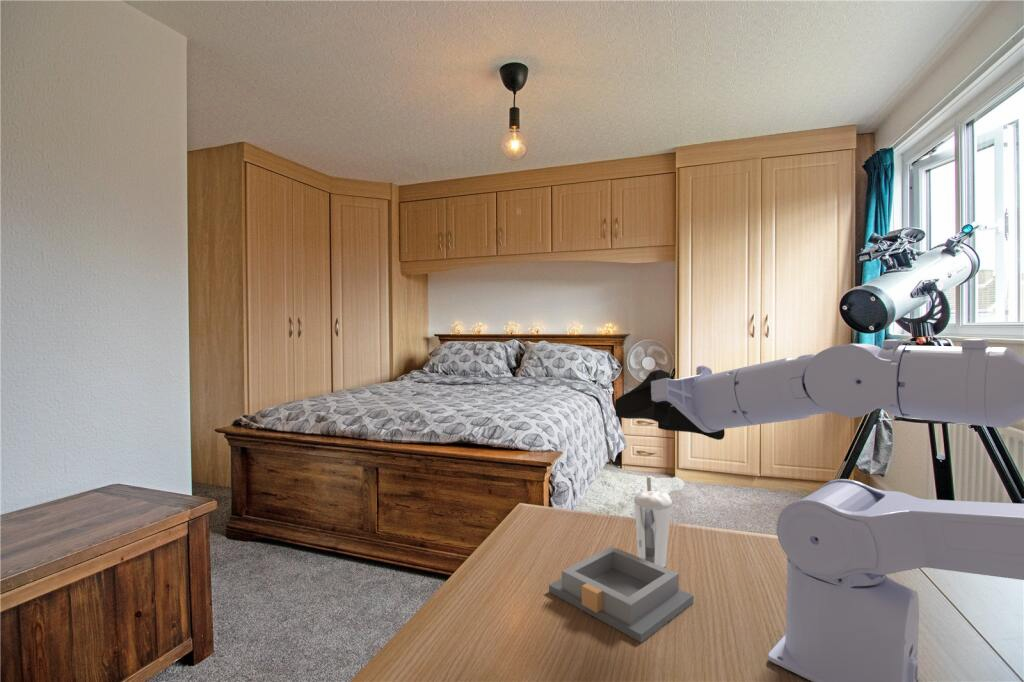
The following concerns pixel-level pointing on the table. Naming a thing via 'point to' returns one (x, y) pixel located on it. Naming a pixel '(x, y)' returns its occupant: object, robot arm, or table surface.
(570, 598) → the box
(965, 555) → the robot arm
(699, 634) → the table surface
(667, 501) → the milkshake
